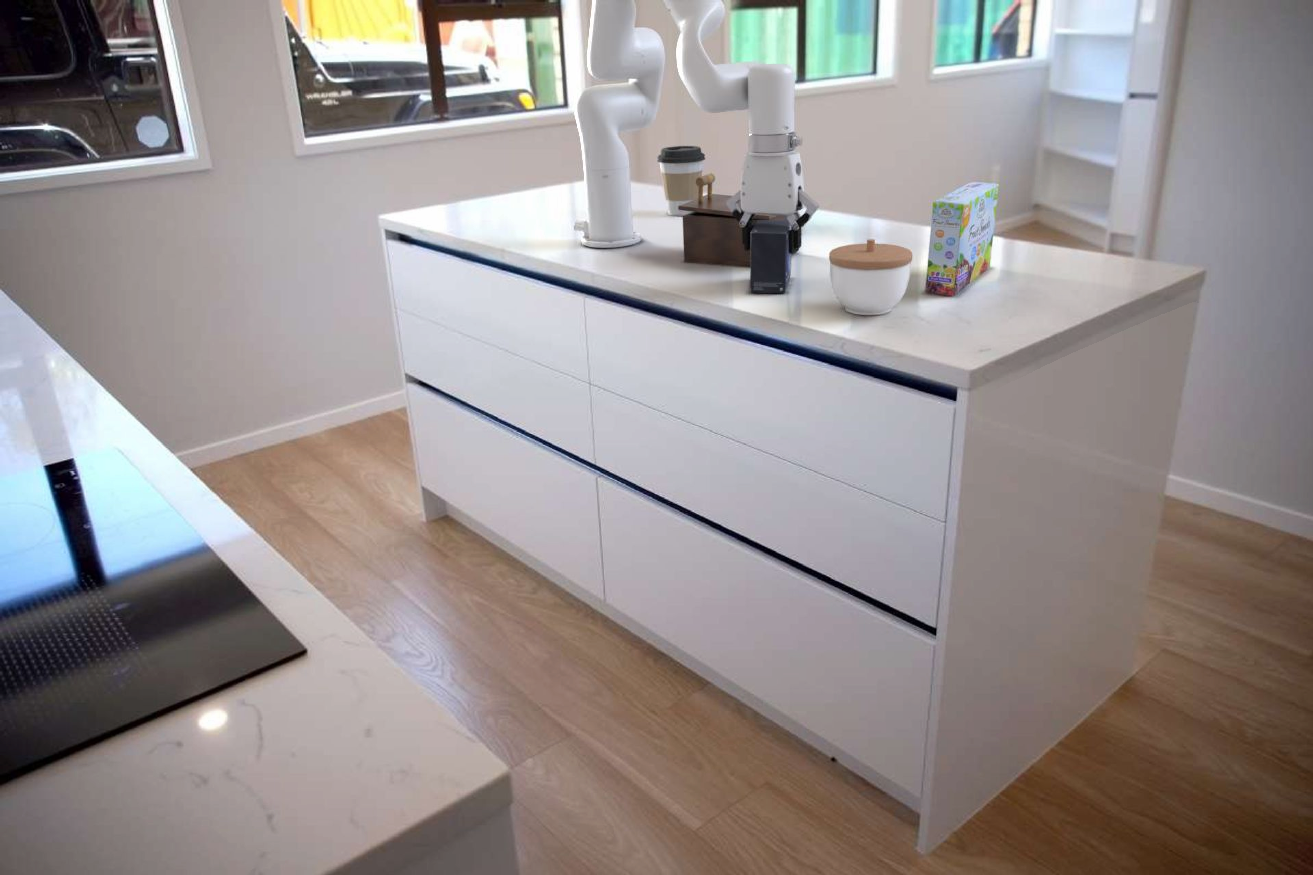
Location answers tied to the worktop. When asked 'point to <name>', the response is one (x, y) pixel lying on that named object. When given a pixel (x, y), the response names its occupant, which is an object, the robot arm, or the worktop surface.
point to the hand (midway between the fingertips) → (771, 249)
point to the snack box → (961, 237)
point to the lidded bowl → (869, 276)
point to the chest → (716, 239)
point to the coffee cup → (680, 175)
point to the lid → (713, 201)
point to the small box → (770, 257)
